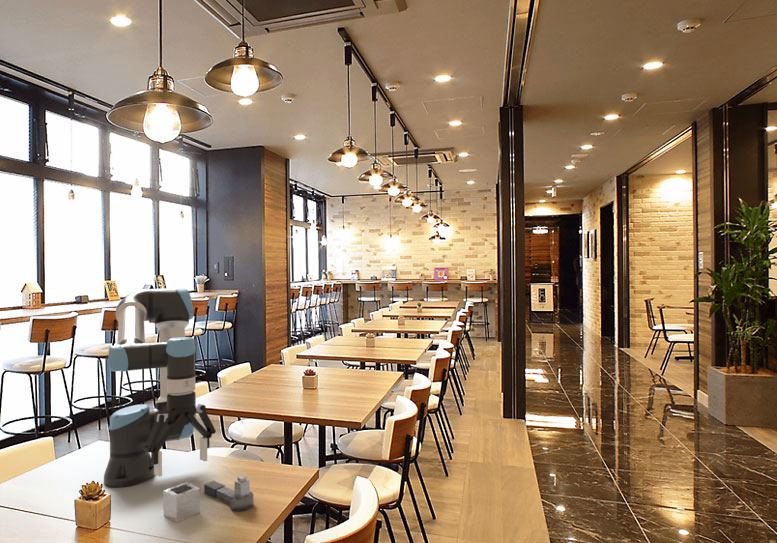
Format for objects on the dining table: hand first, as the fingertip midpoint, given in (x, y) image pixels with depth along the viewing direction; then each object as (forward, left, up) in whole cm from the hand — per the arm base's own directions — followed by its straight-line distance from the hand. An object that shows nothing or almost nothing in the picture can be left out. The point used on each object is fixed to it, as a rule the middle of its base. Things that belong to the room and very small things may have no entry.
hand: (181, 467), depth 137 cm
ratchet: (+3, +13, -13) cm, 19 cm away
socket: (0, 0, -13) cm, 13 cm away
